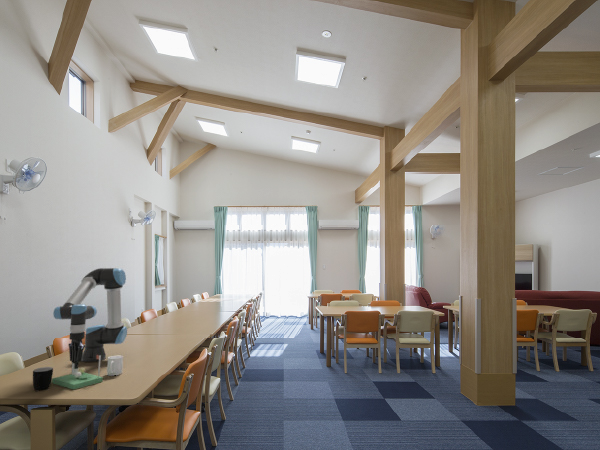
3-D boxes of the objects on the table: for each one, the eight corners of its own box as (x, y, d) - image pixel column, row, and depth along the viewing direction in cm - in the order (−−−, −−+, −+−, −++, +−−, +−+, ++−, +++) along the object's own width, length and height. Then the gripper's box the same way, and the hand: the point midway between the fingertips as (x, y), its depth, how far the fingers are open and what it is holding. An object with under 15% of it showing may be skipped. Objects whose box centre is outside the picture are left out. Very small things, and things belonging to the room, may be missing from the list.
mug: (35, 386, 204) (36, 367, 205) (54, 385, 206) (55, 366, 207) (26, 394, 192) (27, 373, 193) (46, 392, 195) (47, 372, 196)
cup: (123, 371, 233) (124, 355, 234) (117, 377, 221) (118, 359, 222) (109, 372, 232) (110, 355, 233) (102, 378, 220) (103, 360, 221)
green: (51, 383, 210) (53, 356, 212) (80, 375, 224) (82, 350, 226) (73, 389, 199) (75, 361, 201) (102, 381, 213) (103, 355, 215)
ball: (76, 375, 209) (74, 380, 210) (83, 374, 212) (80, 378, 213) (75, 371, 211) (72, 375, 211) (81, 369, 213) (79, 373, 214)
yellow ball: (76, 374, 219) (77, 368, 219) (82, 372, 222) (83, 366, 222) (80, 374, 217) (80, 368, 218) (85, 373, 220) (86, 367, 221)
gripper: (64, 331, 216) (61, 374, 213) (77, 333, 209) (74, 377, 207) (77, 330, 223) (75, 371, 220) (90, 332, 216) (87, 374, 213)
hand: (74, 374), depth 213 cm, fingers closed
